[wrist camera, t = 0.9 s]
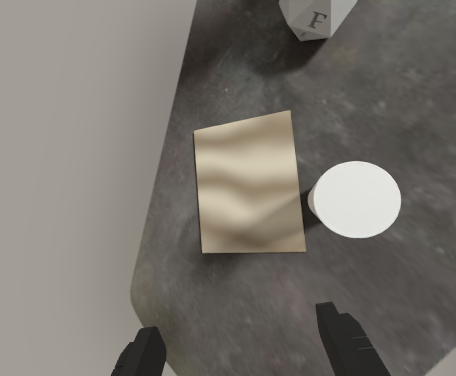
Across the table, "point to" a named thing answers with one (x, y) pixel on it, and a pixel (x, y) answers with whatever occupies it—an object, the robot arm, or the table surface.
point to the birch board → (249, 186)
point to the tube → (356, 199)
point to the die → (315, 16)
